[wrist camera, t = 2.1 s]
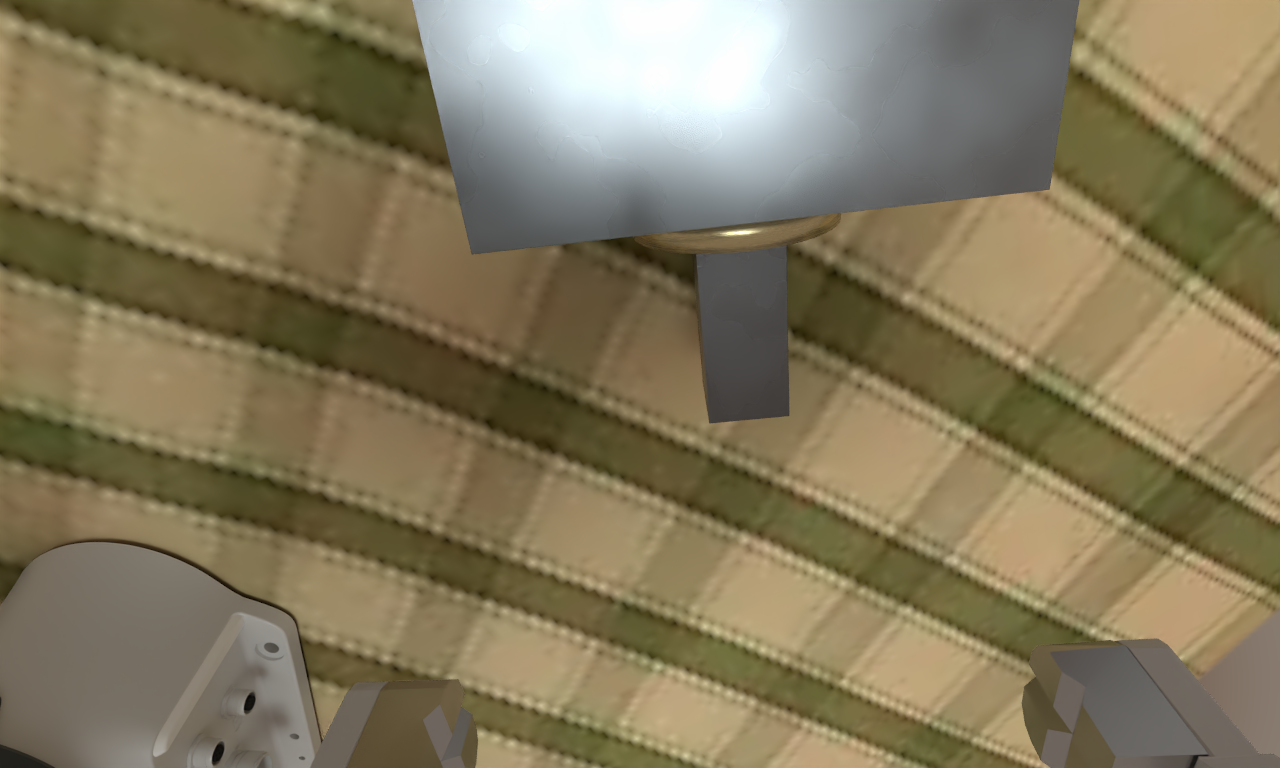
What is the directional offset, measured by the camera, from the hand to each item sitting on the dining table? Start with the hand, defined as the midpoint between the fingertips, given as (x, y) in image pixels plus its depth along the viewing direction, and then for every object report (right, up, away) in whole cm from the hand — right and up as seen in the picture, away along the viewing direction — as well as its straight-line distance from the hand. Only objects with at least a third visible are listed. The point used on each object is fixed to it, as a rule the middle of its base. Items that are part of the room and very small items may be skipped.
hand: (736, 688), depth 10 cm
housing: (+1, +18, +16) cm, 24 cm away
